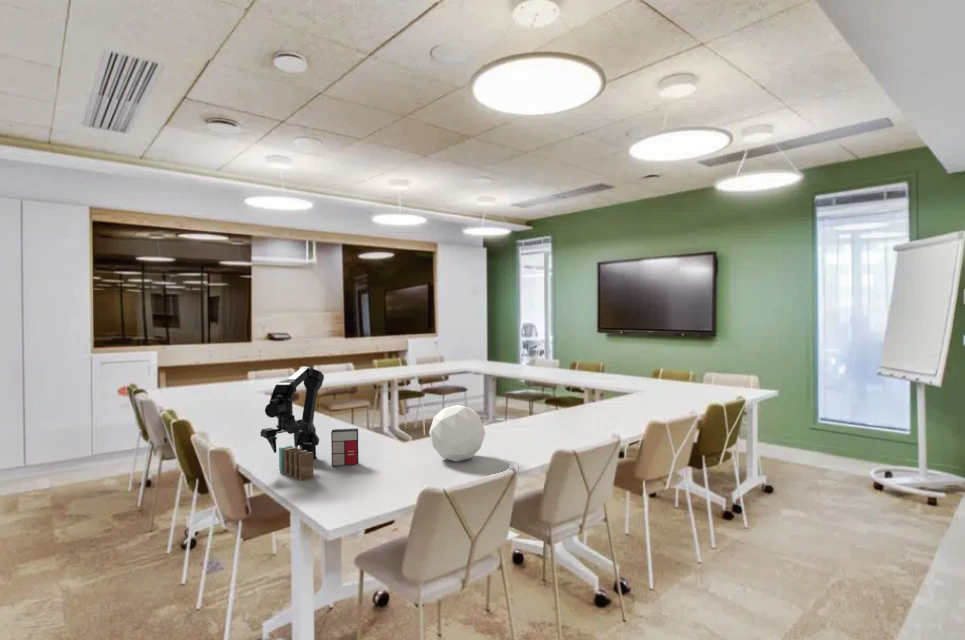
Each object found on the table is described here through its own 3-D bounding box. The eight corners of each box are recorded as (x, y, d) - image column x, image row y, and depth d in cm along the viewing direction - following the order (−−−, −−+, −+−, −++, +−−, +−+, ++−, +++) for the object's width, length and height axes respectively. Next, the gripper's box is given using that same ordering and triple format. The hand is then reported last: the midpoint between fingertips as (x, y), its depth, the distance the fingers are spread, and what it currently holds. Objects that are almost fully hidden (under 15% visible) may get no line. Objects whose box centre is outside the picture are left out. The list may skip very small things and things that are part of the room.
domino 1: (279, 471, 217) (279, 447, 217) (290, 469, 221) (290, 445, 221) (281, 472, 216) (281, 448, 216) (293, 469, 220) (292, 446, 219)
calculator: (331, 467, 223) (331, 431, 223) (332, 464, 227) (331, 429, 227) (358, 465, 225) (357, 430, 225) (358, 462, 230) (358, 428, 229)
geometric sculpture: (463, 482, 228) (460, 445, 212) (421, 454, 240) (414, 417, 224) (496, 446, 242) (495, 409, 226) (454, 421, 254) (451, 385, 239)
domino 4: (294, 477, 209) (293, 452, 209) (305, 474, 213) (305, 450, 213) (296, 478, 208) (296, 453, 208) (308, 475, 212) (307, 450, 211)
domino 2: (284, 473, 214) (283, 449, 214) (295, 470, 218) (295, 446, 218) (286, 474, 213) (286, 450, 213) (298, 471, 217) (297, 447, 217)
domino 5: (299, 479, 206) (298, 454, 206) (310, 476, 210) (310, 451, 210) (301, 480, 205) (301, 455, 205) (313, 477, 209) (313, 452, 209)
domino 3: (289, 475, 212) (288, 450, 212) (300, 472, 216) (300, 448, 215) (291, 476, 210) (291, 451, 210) (303, 473, 214) (302, 449, 214)
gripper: (272, 418, 206) (273, 458, 206) (316, 411, 219) (316, 449, 220) (259, 415, 213) (260, 453, 213) (302, 408, 227) (302, 445, 227)
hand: (285, 450), depth 218 cm, fingers open, 9 cm apart
